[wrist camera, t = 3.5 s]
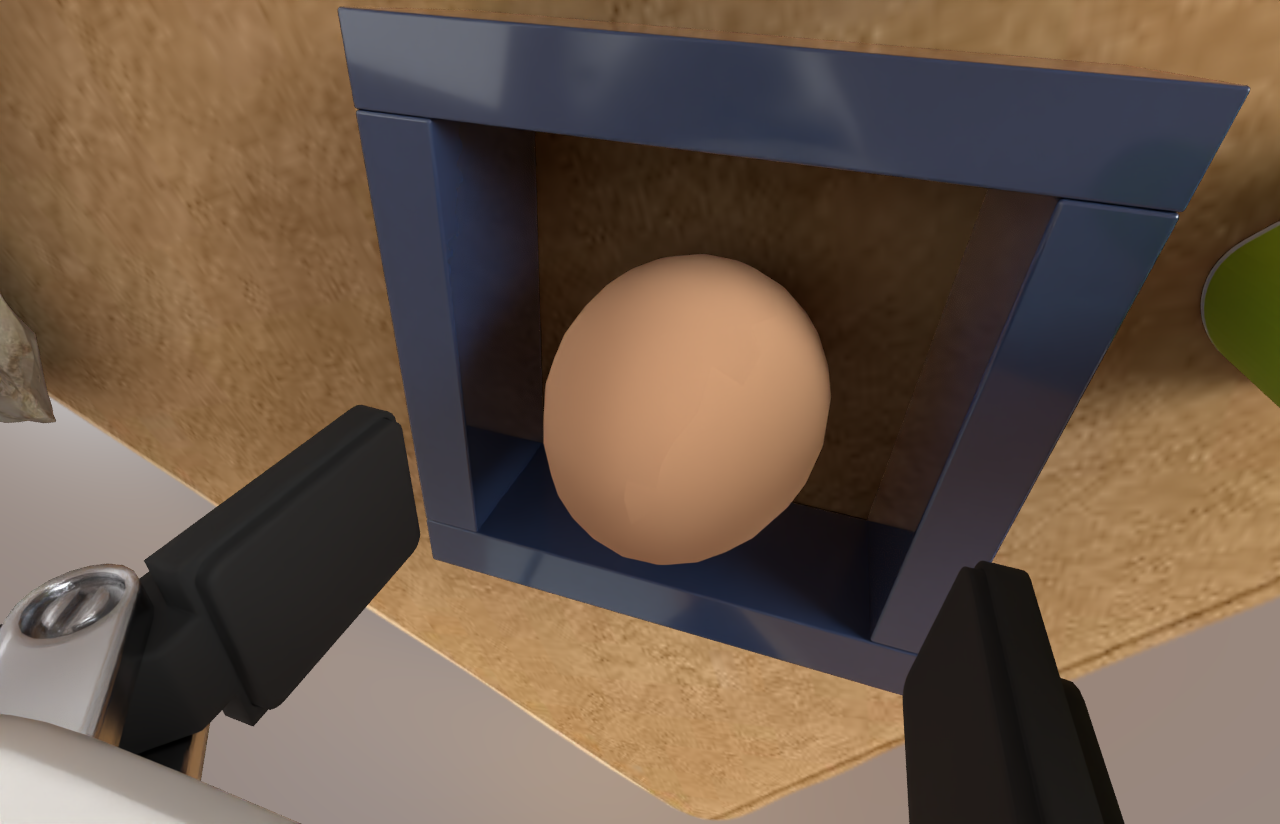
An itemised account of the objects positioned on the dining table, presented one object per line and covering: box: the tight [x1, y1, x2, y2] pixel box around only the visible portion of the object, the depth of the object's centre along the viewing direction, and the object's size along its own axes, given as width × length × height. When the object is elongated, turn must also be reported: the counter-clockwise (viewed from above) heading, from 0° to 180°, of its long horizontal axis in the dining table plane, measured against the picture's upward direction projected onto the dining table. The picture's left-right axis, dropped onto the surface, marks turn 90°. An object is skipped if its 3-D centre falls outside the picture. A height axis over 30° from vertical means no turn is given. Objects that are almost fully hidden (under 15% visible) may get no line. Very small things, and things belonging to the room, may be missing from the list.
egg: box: [544, 254, 831, 565], centre depth 13 cm, size 6×6×8 cm
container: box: [338, 7, 1250, 695], centre depth 15 cm, size 14×14×4 cm
